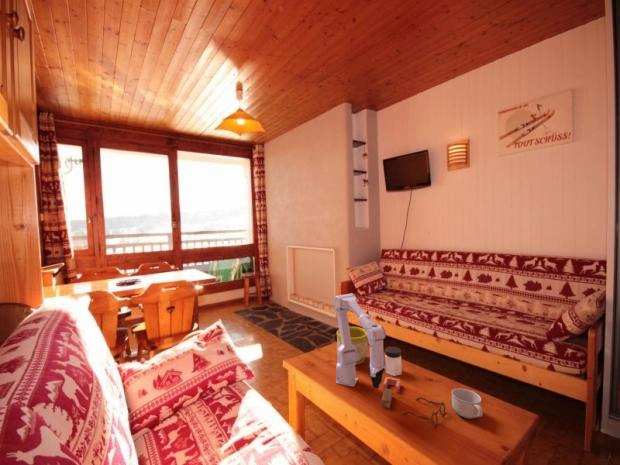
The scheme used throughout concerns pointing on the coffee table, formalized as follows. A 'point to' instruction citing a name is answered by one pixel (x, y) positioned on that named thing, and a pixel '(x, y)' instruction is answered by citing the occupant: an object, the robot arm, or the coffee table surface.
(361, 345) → the flowerpot
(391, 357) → the jar
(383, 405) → the beige rectangular block
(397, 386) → the end cap
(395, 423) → the coffee table surface
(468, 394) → the teacup
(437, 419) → the glasses
